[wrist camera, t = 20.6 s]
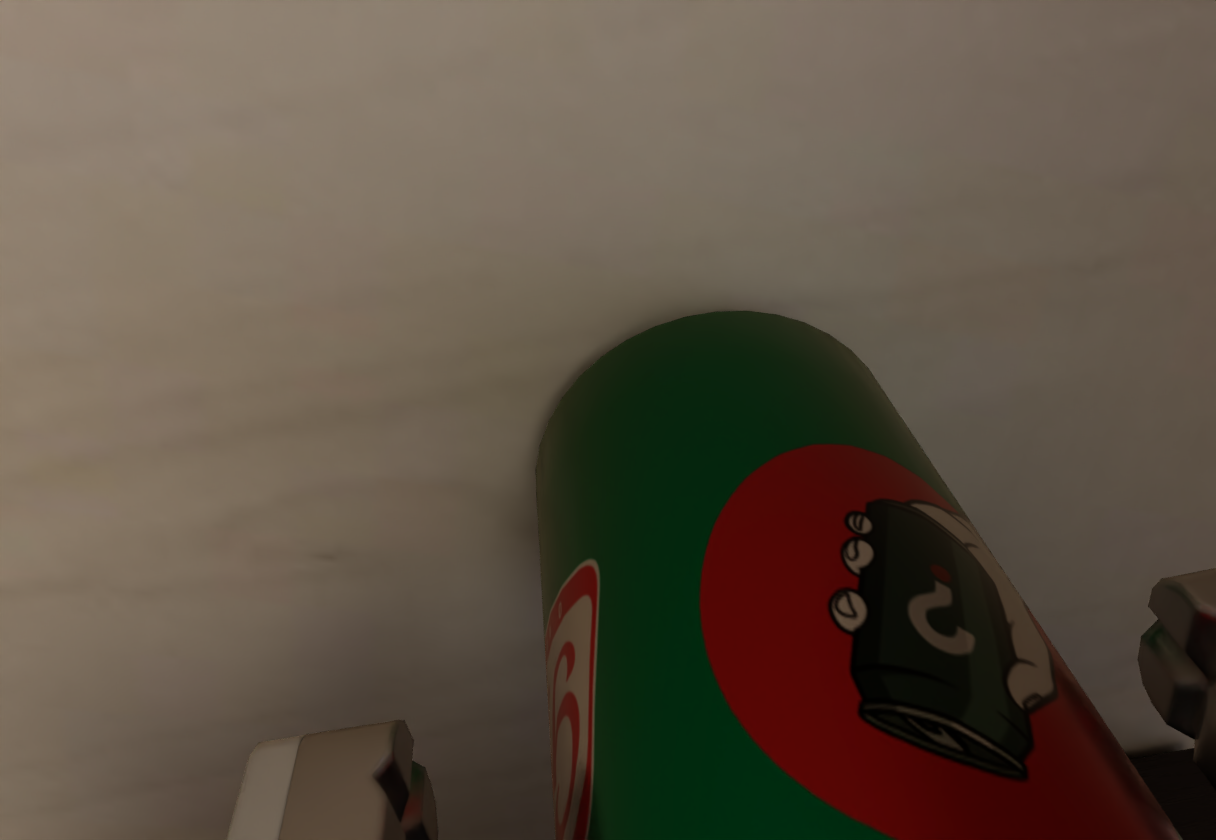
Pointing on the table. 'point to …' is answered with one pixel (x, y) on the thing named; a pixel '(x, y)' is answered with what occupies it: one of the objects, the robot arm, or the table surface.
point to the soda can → (792, 616)
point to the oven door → (1181, 792)
